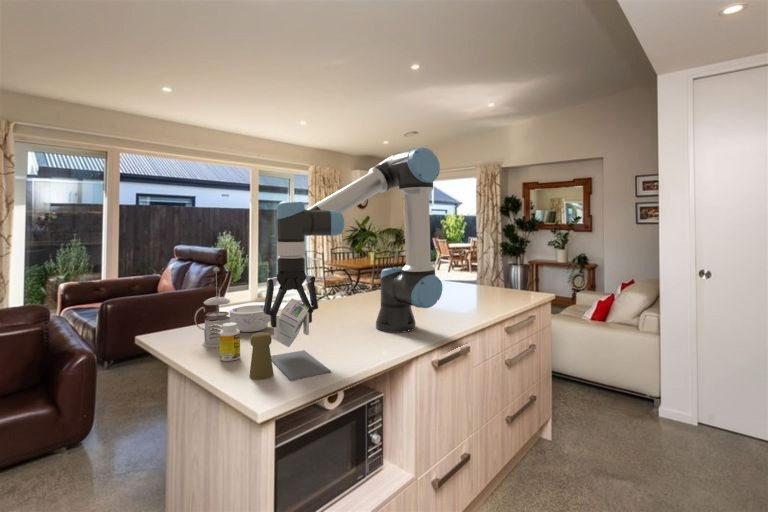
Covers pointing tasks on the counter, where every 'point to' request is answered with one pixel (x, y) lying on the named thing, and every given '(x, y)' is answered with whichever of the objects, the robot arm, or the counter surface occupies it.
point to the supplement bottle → (229, 342)
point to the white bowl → (249, 318)
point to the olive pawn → (261, 356)
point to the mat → (298, 365)
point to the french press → (211, 336)
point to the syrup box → (291, 321)
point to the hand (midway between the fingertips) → (291, 336)
